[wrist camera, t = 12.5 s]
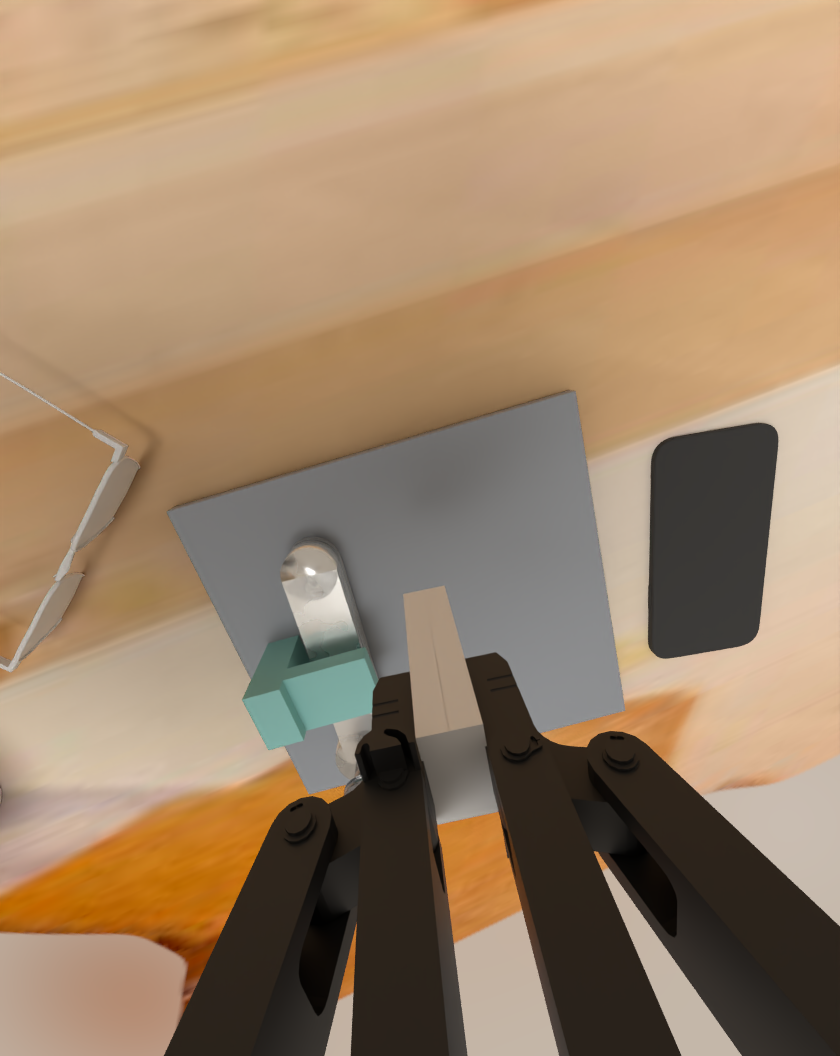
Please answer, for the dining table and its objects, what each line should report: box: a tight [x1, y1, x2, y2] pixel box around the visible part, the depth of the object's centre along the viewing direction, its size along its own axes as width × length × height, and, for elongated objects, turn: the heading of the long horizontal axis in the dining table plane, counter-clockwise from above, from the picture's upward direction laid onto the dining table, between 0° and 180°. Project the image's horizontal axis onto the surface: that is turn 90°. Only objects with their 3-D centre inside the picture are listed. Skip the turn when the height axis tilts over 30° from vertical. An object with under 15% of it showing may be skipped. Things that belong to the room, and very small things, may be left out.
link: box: [280, 536, 379, 796], centre depth 26 cm, size 17×4×5 cm, turn 12°
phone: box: [648, 423, 778, 658], centre depth 28 cm, size 7×1×15 cm
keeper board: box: [167, 390, 625, 794], centre depth 26 cm, size 22×23×6 cm
